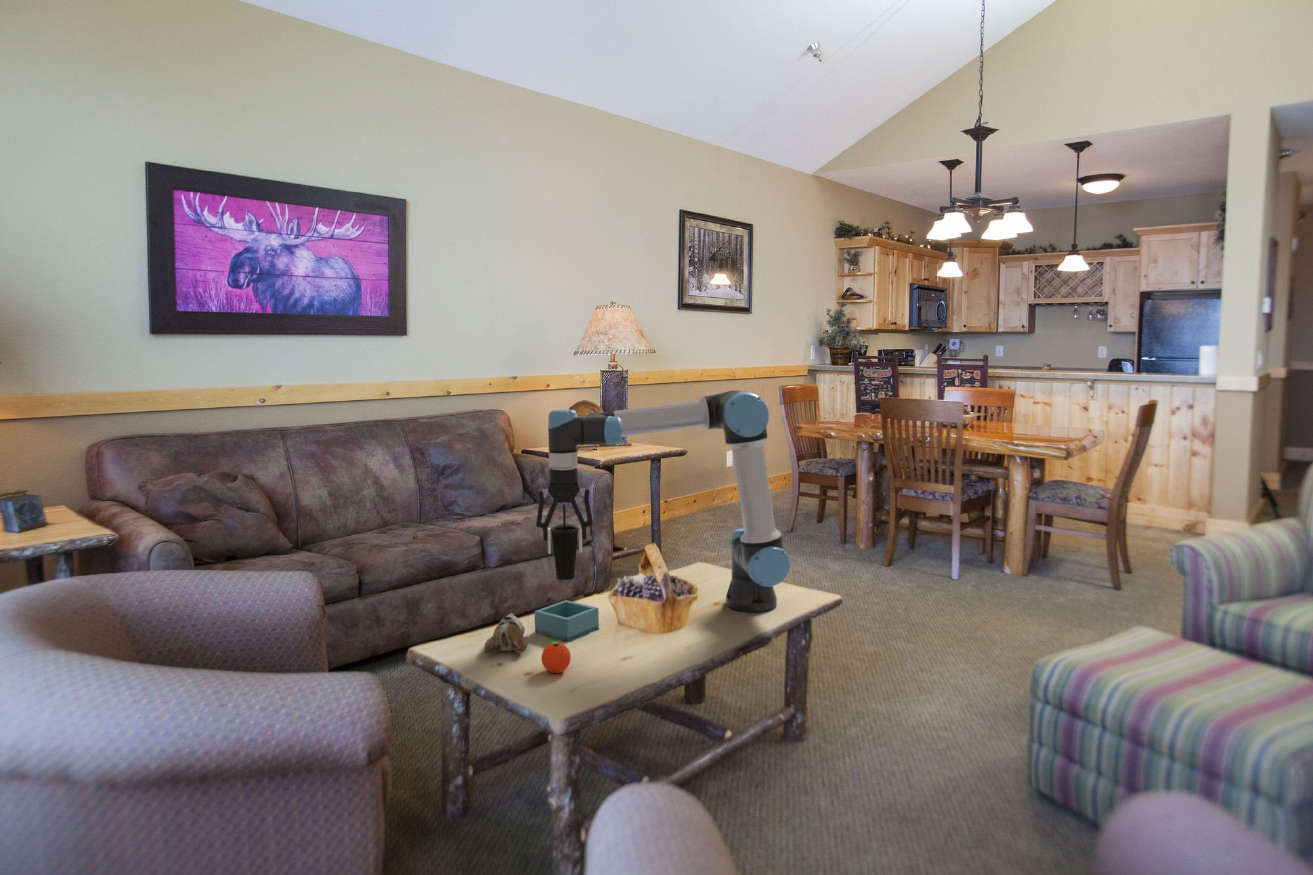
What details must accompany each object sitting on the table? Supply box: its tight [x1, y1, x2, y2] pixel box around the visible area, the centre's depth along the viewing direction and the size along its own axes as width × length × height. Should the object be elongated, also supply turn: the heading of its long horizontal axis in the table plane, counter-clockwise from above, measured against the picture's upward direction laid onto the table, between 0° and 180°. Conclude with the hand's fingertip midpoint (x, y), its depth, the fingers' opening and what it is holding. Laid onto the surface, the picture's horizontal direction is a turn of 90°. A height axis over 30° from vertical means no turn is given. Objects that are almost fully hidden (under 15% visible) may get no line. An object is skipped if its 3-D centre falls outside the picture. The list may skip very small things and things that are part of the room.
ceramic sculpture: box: [483, 612, 528, 654], centre depth 206 cm, size 11×9×15 cm
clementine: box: [540, 641, 572, 674], centre depth 191 cm, size 8×7×7 cm
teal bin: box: [534, 599, 600, 643], centre depth 219 cm, size 12×12×6 cm
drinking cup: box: [549, 504, 579, 581], centre depth 217 cm, size 8×8×20 cm
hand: (565, 551), depth 217 cm, fingers closed on drinking cup, 8 cm apart
